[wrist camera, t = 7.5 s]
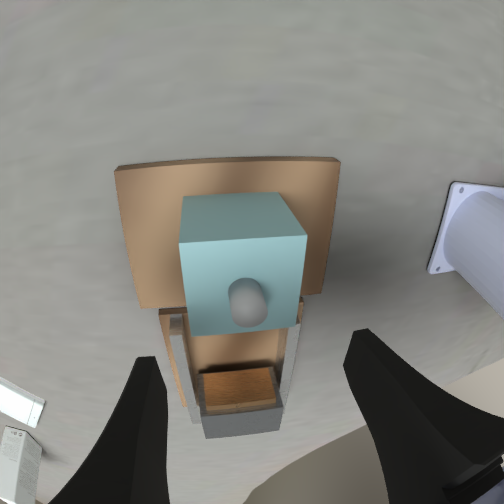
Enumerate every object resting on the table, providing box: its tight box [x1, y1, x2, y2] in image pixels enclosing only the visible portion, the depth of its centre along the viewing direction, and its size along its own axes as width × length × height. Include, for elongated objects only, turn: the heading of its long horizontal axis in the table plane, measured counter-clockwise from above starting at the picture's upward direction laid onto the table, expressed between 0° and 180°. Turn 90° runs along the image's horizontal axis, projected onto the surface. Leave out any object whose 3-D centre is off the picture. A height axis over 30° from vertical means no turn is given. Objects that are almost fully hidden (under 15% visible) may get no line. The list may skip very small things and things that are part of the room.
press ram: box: [197, 366, 284, 439], centre depth 22 cm, size 6×5×4 cm
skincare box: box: [0, 426, 42, 504], centre depth 24 cm, size 6×4×12 cm
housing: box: [179, 192, 307, 337], centre depth 15 cm, size 5×5×6 cm
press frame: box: [114, 157, 340, 424], centre depth 21 cm, size 12×22×3 cm, turn 179°
